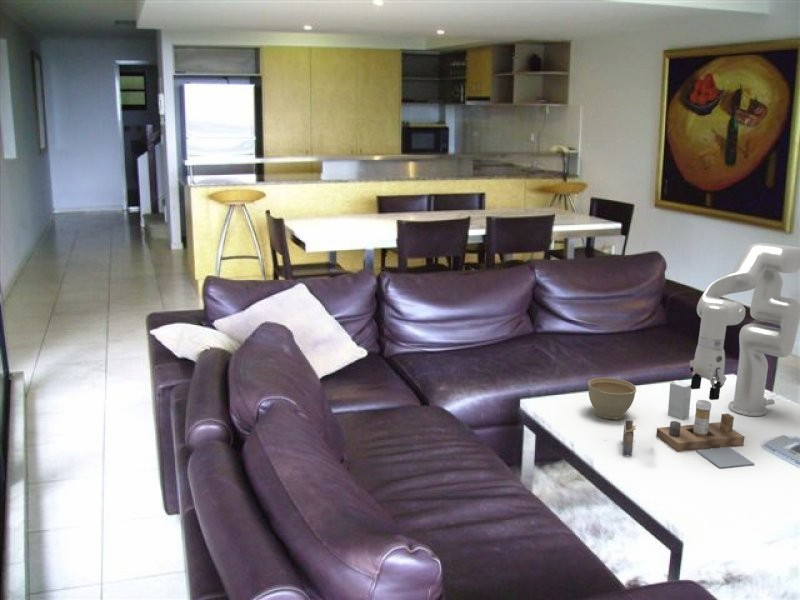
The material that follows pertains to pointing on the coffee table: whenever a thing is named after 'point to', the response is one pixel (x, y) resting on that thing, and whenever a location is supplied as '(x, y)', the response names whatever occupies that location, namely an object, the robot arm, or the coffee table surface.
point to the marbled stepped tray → (628, 437)
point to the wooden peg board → (716, 437)
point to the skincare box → (679, 399)
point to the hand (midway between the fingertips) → (704, 394)
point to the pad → (724, 457)
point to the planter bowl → (611, 397)
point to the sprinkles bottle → (702, 418)
